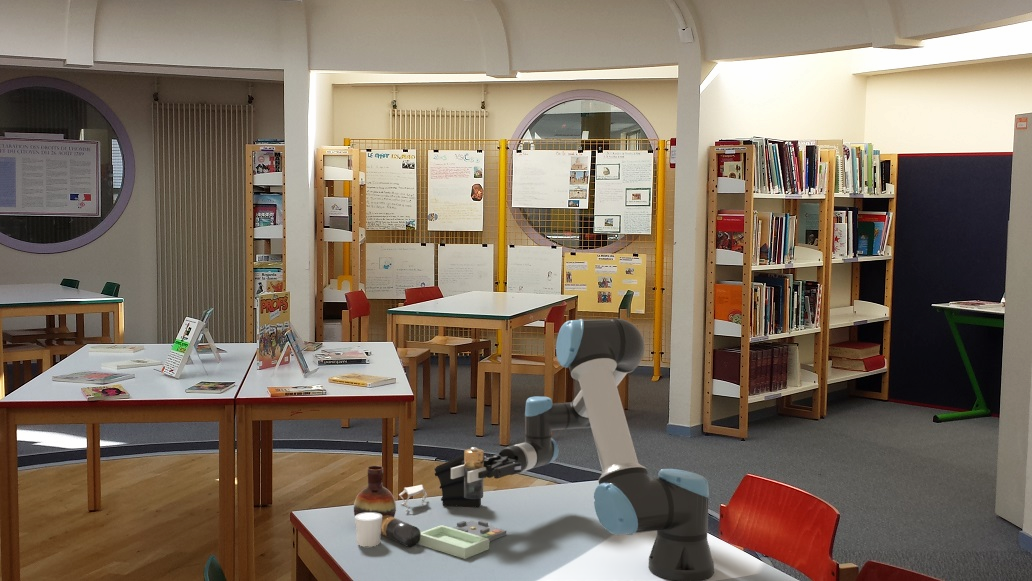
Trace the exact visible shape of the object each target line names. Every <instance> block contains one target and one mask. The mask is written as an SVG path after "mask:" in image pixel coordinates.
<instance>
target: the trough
mask: <svg viewBox="0 0 1032 581" xmlns="http://www.w3.org/2000/svg"><path fill="white" fill-rule="evenodd" d="M420 533H421V535H420V540H419V542H418V543H417V544H416V545H419V544H420V546H422V545H423V546H424V547H426V548H428V549H429V548H430V549H433V550H435V551H439V552H442V553H444V554H448V555H451V556H455V557H457V558H461V559H464V560H466V559H468V558H470V557H474V556H476V555H478V554H481V553H482V552H486V551H487V550H490V541H489V539H488V538H485V537H481V536H478V535H475V534H471V533H468V532H464V531H461V530H457V529H454V528H453V527H450V526H446V525H443V524H441V525H438V526H435V527H432V528H430V529H426V530H423V531H420Z"/></svg>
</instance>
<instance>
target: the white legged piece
mask: <svg viewBox="0 0 1032 581" xmlns="http://www.w3.org/2000/svg"><path fill="white" fill-rule="evenodd" d="M405 493H406V494H407V498H406V499H405V498H404V497H403V495H404V494H405ZM421 493H423V495H424V496H422V497H421V499H422V500H421V506H422V507H424V502H425V500H426V499H427V496H428V493H427V492H426V490H425V488H424V485H423V484H418V485H415V486H409V487H403V490H402V492H400V493H399V494H398V496H399V497H400V499H402V501H403V502H402V503H401V505H403V506H404V507H406V509H405V512H407V511H408V510H409V509H410V507H409V506H408V505H407V503H408V501H409V499H410V498H411V497H412V496H413V497H414V496H416V495H419V494H421Z"/></svg>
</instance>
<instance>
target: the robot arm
mask: <svg viewBox="0 0 1032 581" xmlns="http://www.w3.org/2000/svg"><path fill="white" fill-rule="evenodd" d="M556 338H557V339H556V346H555V352H556V360H557V363H558V364H559V365H560V366H561V367H563V368H565V369H567V368H568V369H569V372H570V376H571V378H572V379H573V380H576V381H578V382H579V387H580V390H579V392H578V393H577V395H576V396H575V397H574V398H573V400H572V401H570V402H554V403H553V400H552V398H551V397H548V396H538V395H537V396H530V397H528V398H527V399H526V401H525V411H524V421H525V422H524V426H525V427H524V432H525V433H524V442H521V443H517V444H513V445H511V446H510V445H509V446H507V447H504V448H502V449H501V450H500V452H499V453H498V454H494V455H493V456H488V457H487V455H486V454H484V467H483V468H479V469H476V470H472V471H469V472H467V482H468V483H471V482H474V481H478V480H481V479H483V480H485V479H487V478H488V479H491V478H494V479H496V480H497V479H500V478H503V477H507V476H513V475H517V474H520V473H525V472H526V471H529V470H532V469H535V468H539V467H541V466H542V467H543V466H547V465H549V464H550V463H553V462H554V461H556V460H557V458H558V456H559V452H560V451H559V446H558V444H557V441H556V440H555V439H554V438H553V437H552V435H553V434H552V433H553V431H557V430H559V431H560V430H574V429H589V428H590V429H591V433H592V436H593V441H594V444H595V448H596V451H597V456H598V460H599V464H600V468H601V472H602V474H600V476H599V478H598V481H597V482H598V484H599V485H597V486H596V488H595V490H594V493H593V499H594V501H593V505H594V506H593V507H594V510H595V514H596V516H597V519H598V521H599V522H600V525H601V526H602V527H603V528H604V530H606V531H607V532H608V533H609V534H612V535H617V536H619V535H627V536H630V535H631V536H632V535H634V534H641V533H648V532H654V531H655V532H656V537H655V539H654V543H653V544H652V545H653V546H652V548H651V551H650V553H649V556H648V570H649V571H650V572H651V573H652V574H653V575H655V576H657V577H660V578H663V579H667V580H670V581H704V580H707V579H709V578H711V577H712V576H714V573H715V572H714V571H715V562H714V559H713V558H712V553H711V548H710V545H709V540H708V526H709V525H708V524H709V499H710V489H709V481H708V480H707V478H705V477H704V476H703V475H701V474H699V473H695V472H692V471H688V470H683V469H677V468H662V469H660V470H659V471H658V474H657V477H656V478H650V476H649V472H648V469H647V467H646V466H644V465H642V464H640V463H639V461H638V458H637V457H638V456H637V454H636V450H635V446H634V443H633V438H632V436H631V432H630V428H629V425H628V422H627V418H626V415H625V410H624V407H623V404H622V400H621V397H620V394H619V393H620V392H619V390H618V386H619V385H620V384H621V382H622V380H623V379H624V378H625V376H627V374H628V373H629V374H630V373H632V372H634V371H635V370H636V369H637V368H638V366H639V365H640V363H641V362H642V360H643V358H644V355H645V351H646V350H645V346H646V345H645V339H644V336H643V335H642V333H641V331H640V329H638V328H637V326H636V325H635V324H633V323H632V322H630V321H628V320H626V319H622V318H602V319H601V318H598V319H597V318H596V319H594V318H591V319H582V318H579V319H573V320H567V321H565V322H564V323H563V324H562V325H561V327H560V329H559V332H558V334H557V337H556ZM462 476H464V461H462V465H460V466H457V467H453V468H451V479H455V478H458V477H462Z"/></svg>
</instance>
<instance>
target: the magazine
mask: <svg viewBox="0 0 1032 581" xmlns="http://www.w3.org/2000/svg"><path fill="white" fill-rule="evenodd" d="M462 461H464V454H463V455H460V456H458V457H455V458H452V459H451V460H448V461H446V462H444V463H442V464H439V465H437V466H435V467H434V469H433V470H434V471H435V473H434V476H435V477H437V478H438V480H439V483H440V484H439V490H441V494H442V496H441V497H440V501H441V502H442V507H444V506H445V507H446V506H447V507H460V508H461V507H462V508H479V509H480V508H481V505H482V498H481V499H466V498H464V476H462V477H458V478H455V479H451V468H453V467H457V466H460V465H462Z"/></svg>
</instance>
